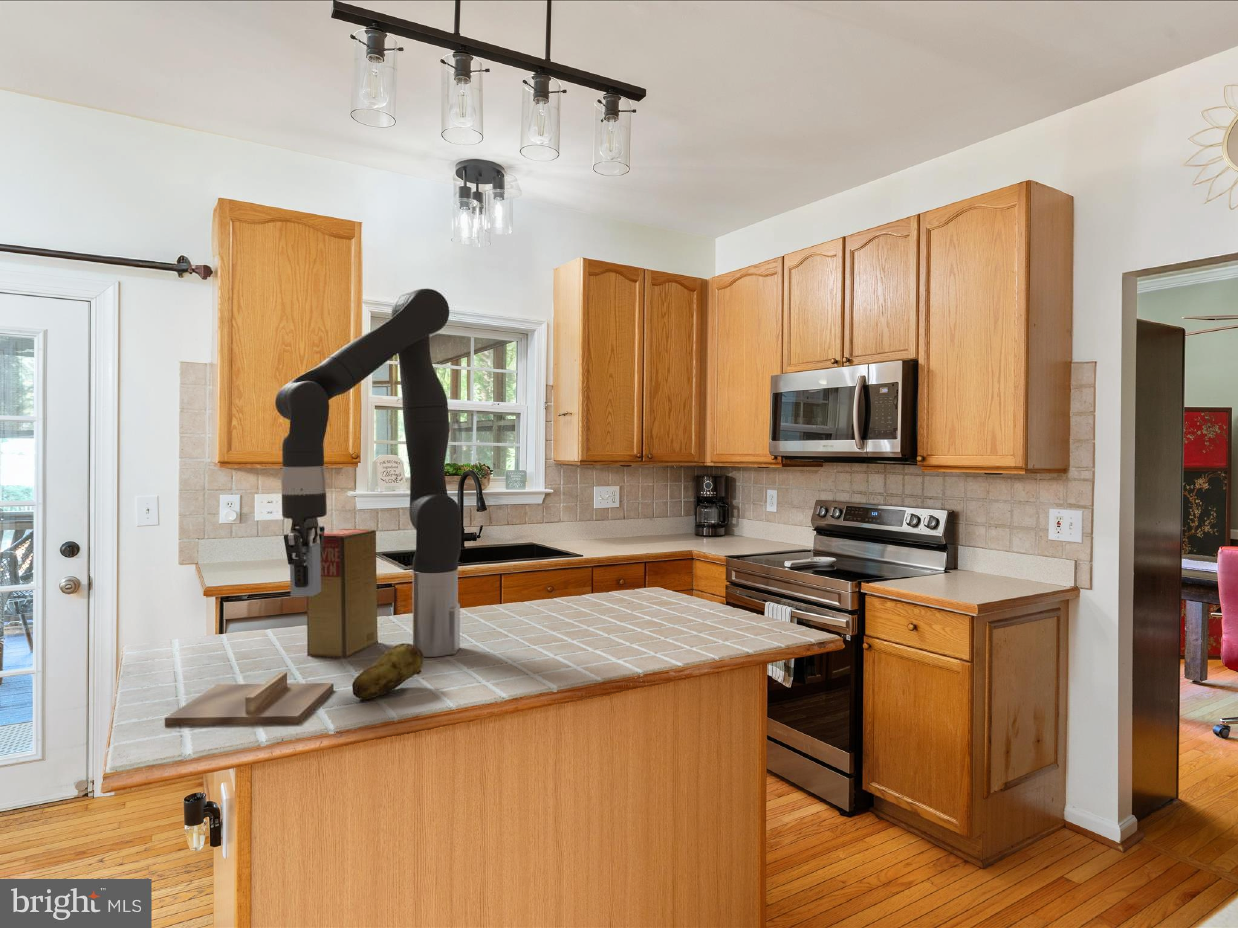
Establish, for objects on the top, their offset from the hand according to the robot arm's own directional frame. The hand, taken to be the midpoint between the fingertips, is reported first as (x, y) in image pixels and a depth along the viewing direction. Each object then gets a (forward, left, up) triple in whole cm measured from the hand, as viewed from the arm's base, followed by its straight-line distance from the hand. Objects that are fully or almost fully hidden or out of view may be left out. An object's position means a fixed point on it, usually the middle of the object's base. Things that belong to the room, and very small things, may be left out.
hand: (306, 584), depth 134 cm
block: (0, 0, -2) cm, 2 cm away
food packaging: (0, -21, -18) cm, 28 cm away
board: (+3, +14, -18) cm, 23 cm away
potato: (-17, +8, -18) cm, 26 cm away
